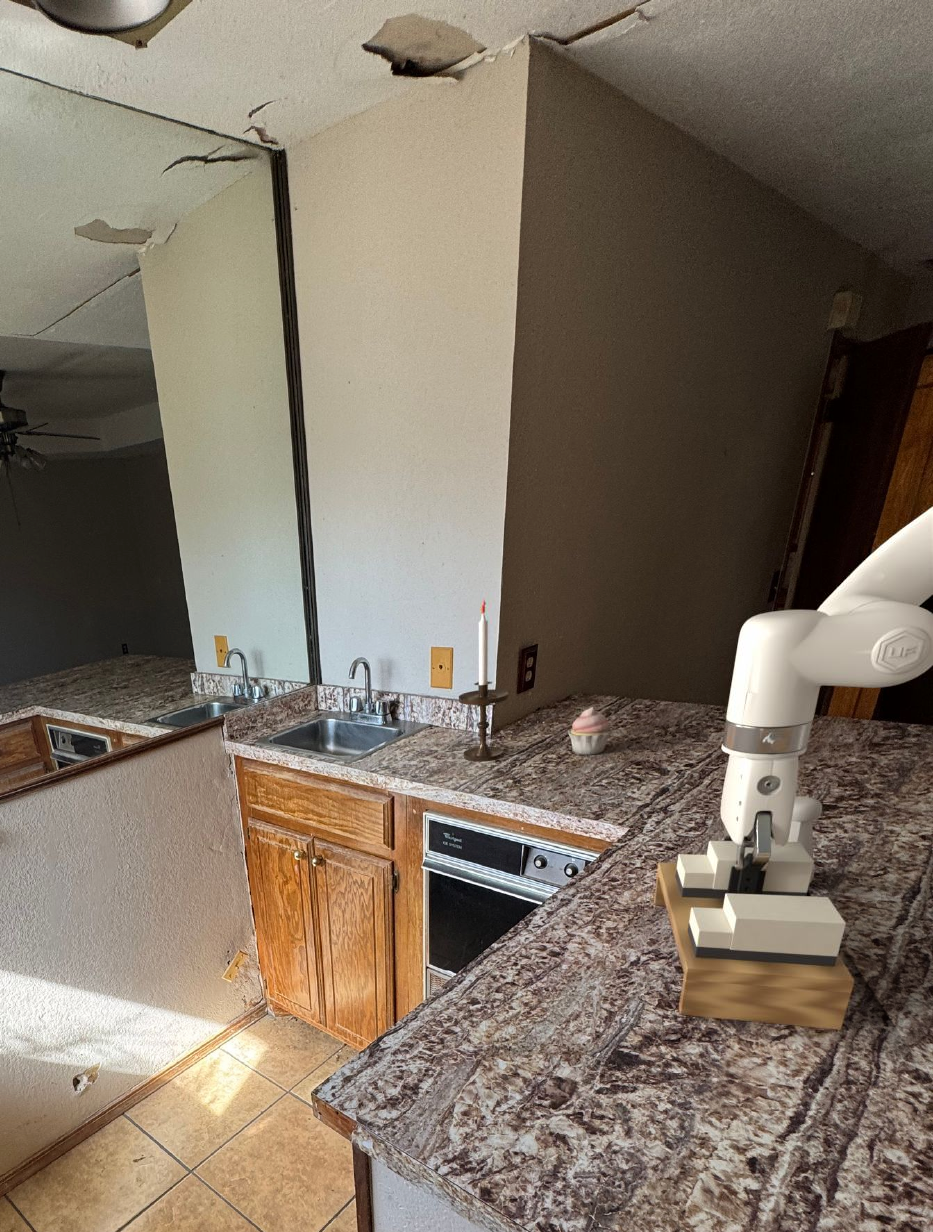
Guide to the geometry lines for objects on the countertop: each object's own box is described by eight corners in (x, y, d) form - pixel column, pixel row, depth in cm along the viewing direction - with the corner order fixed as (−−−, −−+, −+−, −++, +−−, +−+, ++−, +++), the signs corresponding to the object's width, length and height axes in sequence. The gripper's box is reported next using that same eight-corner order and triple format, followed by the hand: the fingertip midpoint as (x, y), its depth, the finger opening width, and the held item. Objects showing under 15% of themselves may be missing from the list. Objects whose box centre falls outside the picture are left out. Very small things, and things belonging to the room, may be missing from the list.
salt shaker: (754, 878, 97) (772, 791, 91) (805, 881, 94) (826, 791, 89) (760, 897, 92) (778, 806, 87) (813, 901, 90) (835, 808, 84)
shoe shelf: (774, 906, 90) (783, 865, 87) (840, 1030, 69) (855, 980, 66) (653, 901, 95) (658, 862, 93) (680, 1014, 74) (687, 968, 71)
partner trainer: (817, 938, 73) (828, 896, 71) (834, 966, 68) (846, 923, 66) (687, 931, 77) (693, 892, 75) (695, 957, 73) (701, 916, 71)
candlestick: (510, 760, 158) (513, 597, 143) (461, 764, 160) (459, 604, 145) (503, 747, 168) (506, 593, 152) (457, 751, 170) (455, 600, 155)
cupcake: (608, 757, 150) (611, 712, 146) (562, 756, 155) (565, 712, 151) (614, 745, 157) (618, 701, 153) (570, 744, 162) (573, 702, 158)
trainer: (791, 880, 81) (800, 841, 79) (804, 902, 77) (814, 862, 74) (675, 876, 86) (680, 840, 83) (681, 897, 81) (687, 859, 79)
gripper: (834, 759, 65) (795, 924, 73) (786, 713, 79) (757, 857, 87) (740, 761, 67) (713, 920, 75) (709, 717, 81) (689, 855, 89)
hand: (737, 885), depth 81 cm, fingers closed on trainer, 5 cm apart
